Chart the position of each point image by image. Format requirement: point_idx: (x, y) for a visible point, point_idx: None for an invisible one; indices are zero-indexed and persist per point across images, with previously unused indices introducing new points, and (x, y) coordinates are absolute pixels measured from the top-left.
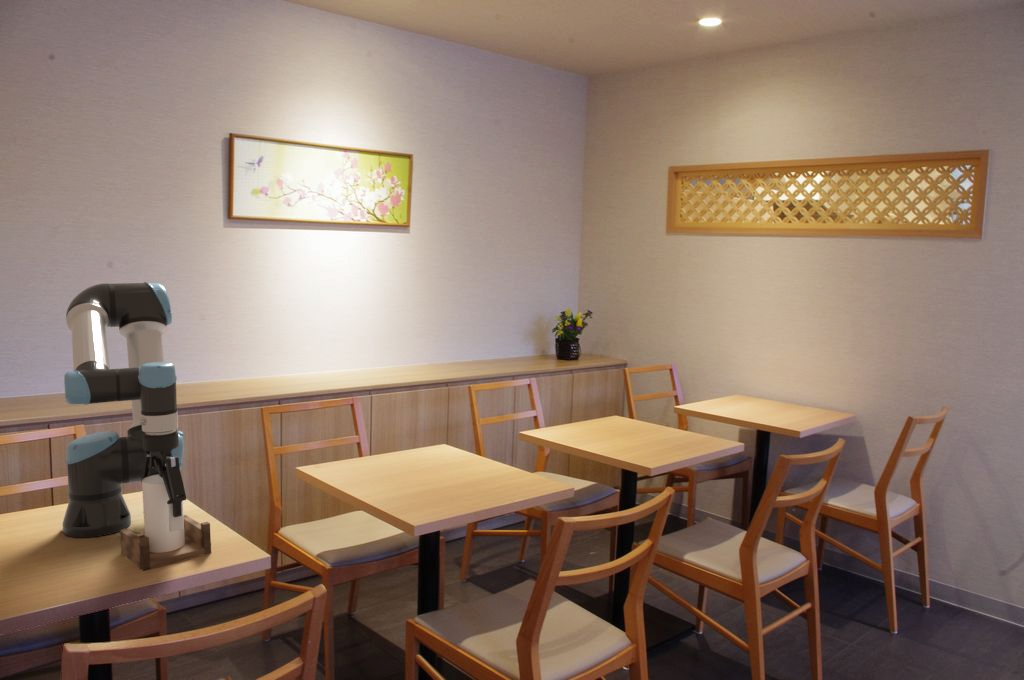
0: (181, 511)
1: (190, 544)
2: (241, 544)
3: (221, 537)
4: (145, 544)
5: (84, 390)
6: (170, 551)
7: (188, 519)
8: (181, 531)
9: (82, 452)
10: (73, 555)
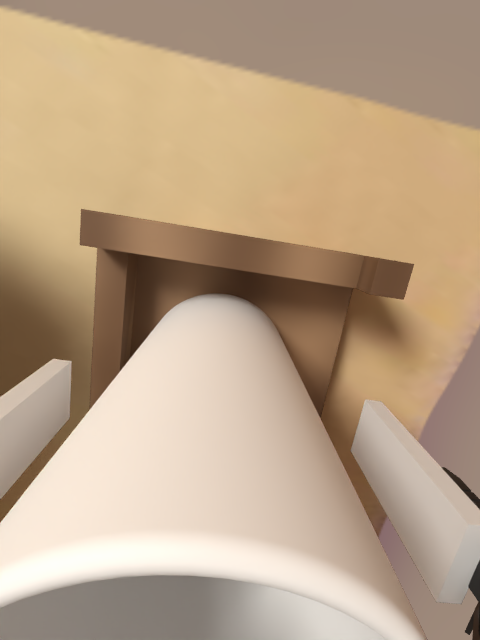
0: (434, 466)
1: (275, 292)
2: (378, 120)
3: (239, 122)
4: None
5: None
6: None
7: (167, 243)
8: (285, 347)
9: None
10: None
